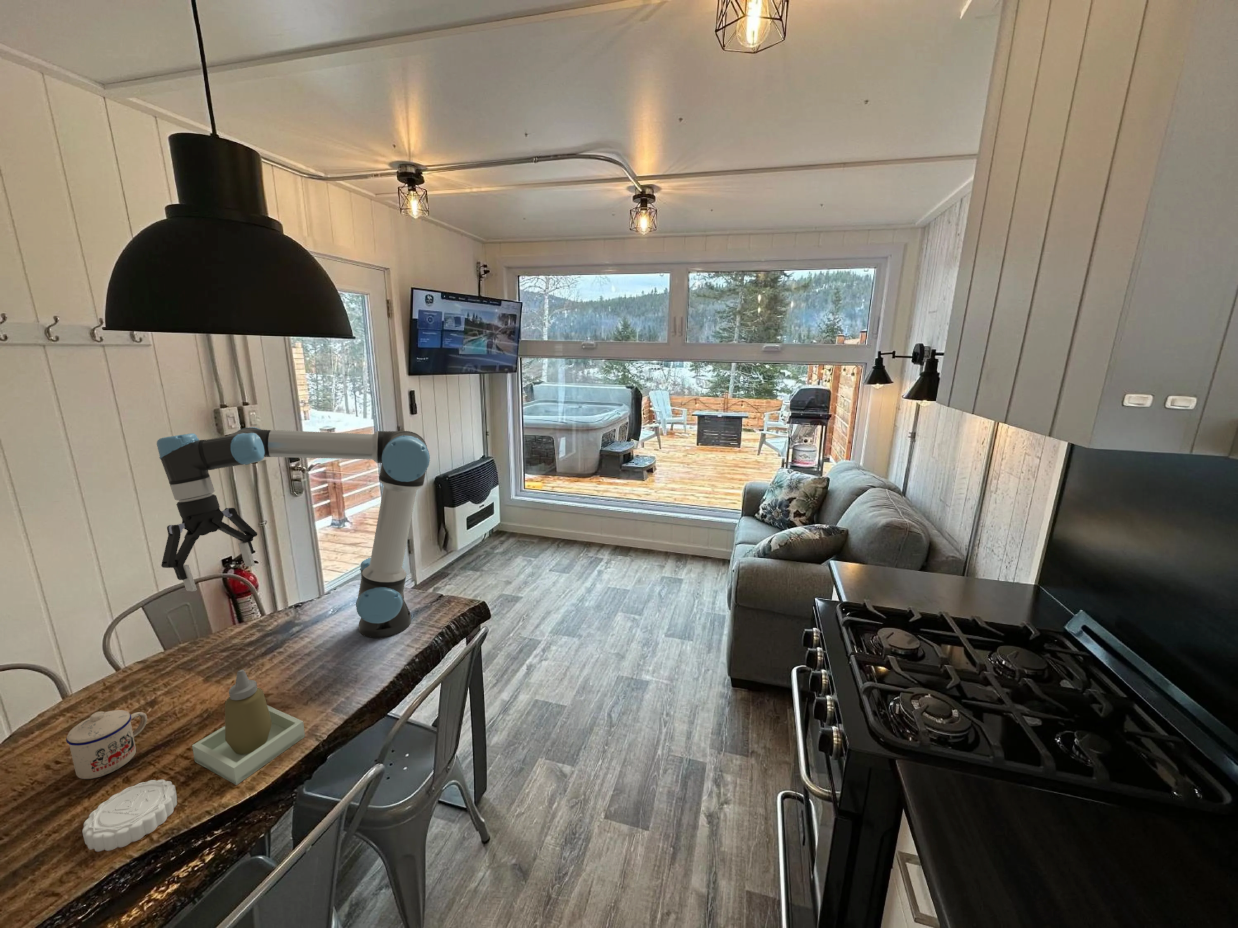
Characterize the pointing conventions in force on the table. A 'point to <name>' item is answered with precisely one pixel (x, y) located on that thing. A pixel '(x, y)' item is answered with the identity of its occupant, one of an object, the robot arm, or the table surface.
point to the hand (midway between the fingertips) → (222, 577)
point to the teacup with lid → (103, 742)
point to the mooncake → (129, 815)
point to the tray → (240, 766)
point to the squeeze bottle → (246, 716)
